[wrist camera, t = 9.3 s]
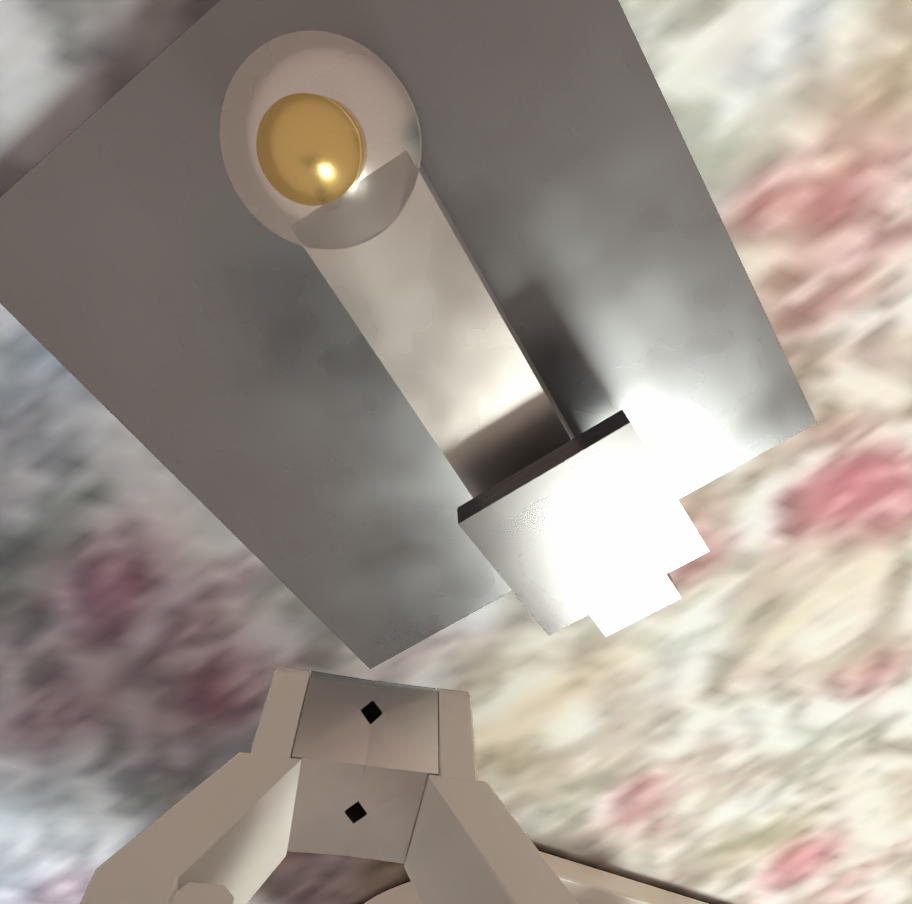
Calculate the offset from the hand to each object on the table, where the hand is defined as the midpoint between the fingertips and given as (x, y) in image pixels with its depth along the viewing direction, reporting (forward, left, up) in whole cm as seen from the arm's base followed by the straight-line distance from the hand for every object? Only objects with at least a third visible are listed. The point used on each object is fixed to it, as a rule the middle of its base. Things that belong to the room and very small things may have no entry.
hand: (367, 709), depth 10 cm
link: (0, -4, -12) cm, 12 cm away
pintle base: (0, -3, -13) cm, 13 cm away
